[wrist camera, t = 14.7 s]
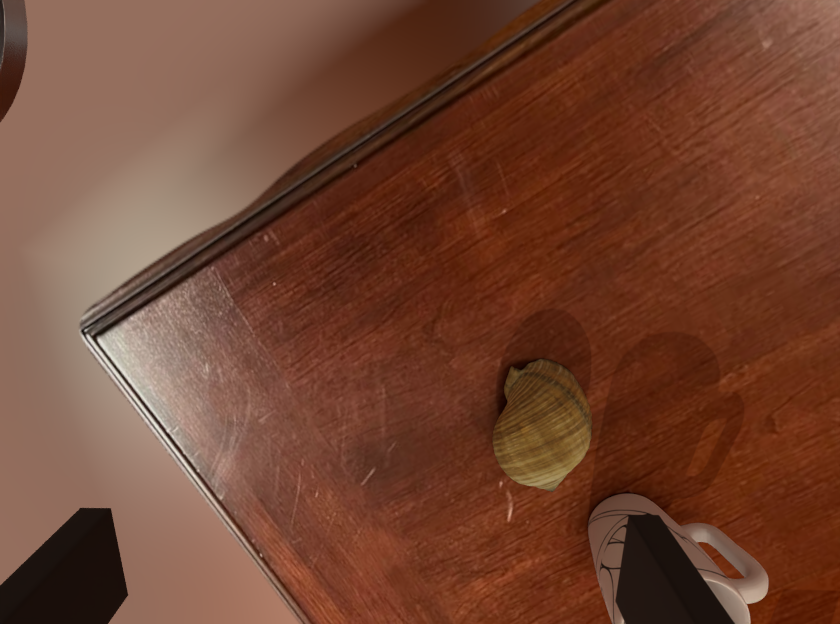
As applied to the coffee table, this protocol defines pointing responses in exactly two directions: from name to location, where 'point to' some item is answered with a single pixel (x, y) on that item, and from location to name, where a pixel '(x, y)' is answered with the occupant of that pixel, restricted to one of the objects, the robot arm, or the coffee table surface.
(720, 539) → the mug
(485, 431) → the coffee table surface
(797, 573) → the coffee table surface
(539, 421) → the seashell
